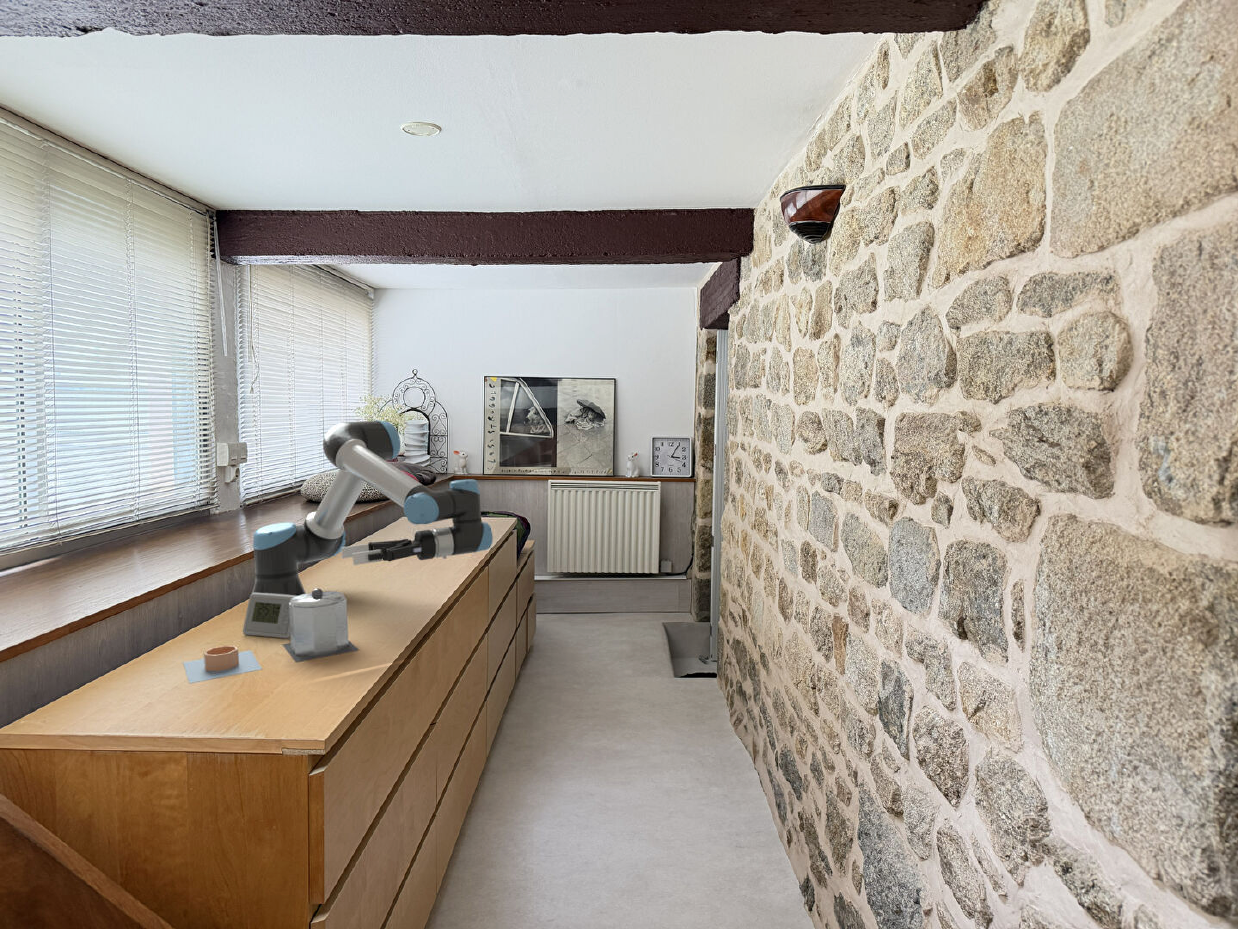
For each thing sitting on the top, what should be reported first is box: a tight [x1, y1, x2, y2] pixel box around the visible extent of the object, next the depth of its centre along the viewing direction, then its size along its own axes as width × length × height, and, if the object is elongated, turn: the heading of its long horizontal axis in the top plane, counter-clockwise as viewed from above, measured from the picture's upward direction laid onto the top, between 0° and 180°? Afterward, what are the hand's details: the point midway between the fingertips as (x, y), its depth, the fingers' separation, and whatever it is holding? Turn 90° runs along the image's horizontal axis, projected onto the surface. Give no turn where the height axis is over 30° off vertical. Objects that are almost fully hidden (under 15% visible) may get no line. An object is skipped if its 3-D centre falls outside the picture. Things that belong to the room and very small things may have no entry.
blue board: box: [182, 649, 263, 684], centre depth 168 cm, size 16×14×1 cm
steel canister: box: [289, 588, 349, 656], centre depth 179 cm, size 12×12×14 cm
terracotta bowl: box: [203, 645, 239, 671], centre depth 168 cm, size 7×7×4 cm
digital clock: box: [242, 592, 296, 640], centre depth 191 cm, size 16×9×11 cm, turn 60°
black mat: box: [282, 639, 360, 663], centre depth 180 cm, size 16×14×1 cm
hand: (347, 556), depth 183 cm, fingers open, 13 cm apart
